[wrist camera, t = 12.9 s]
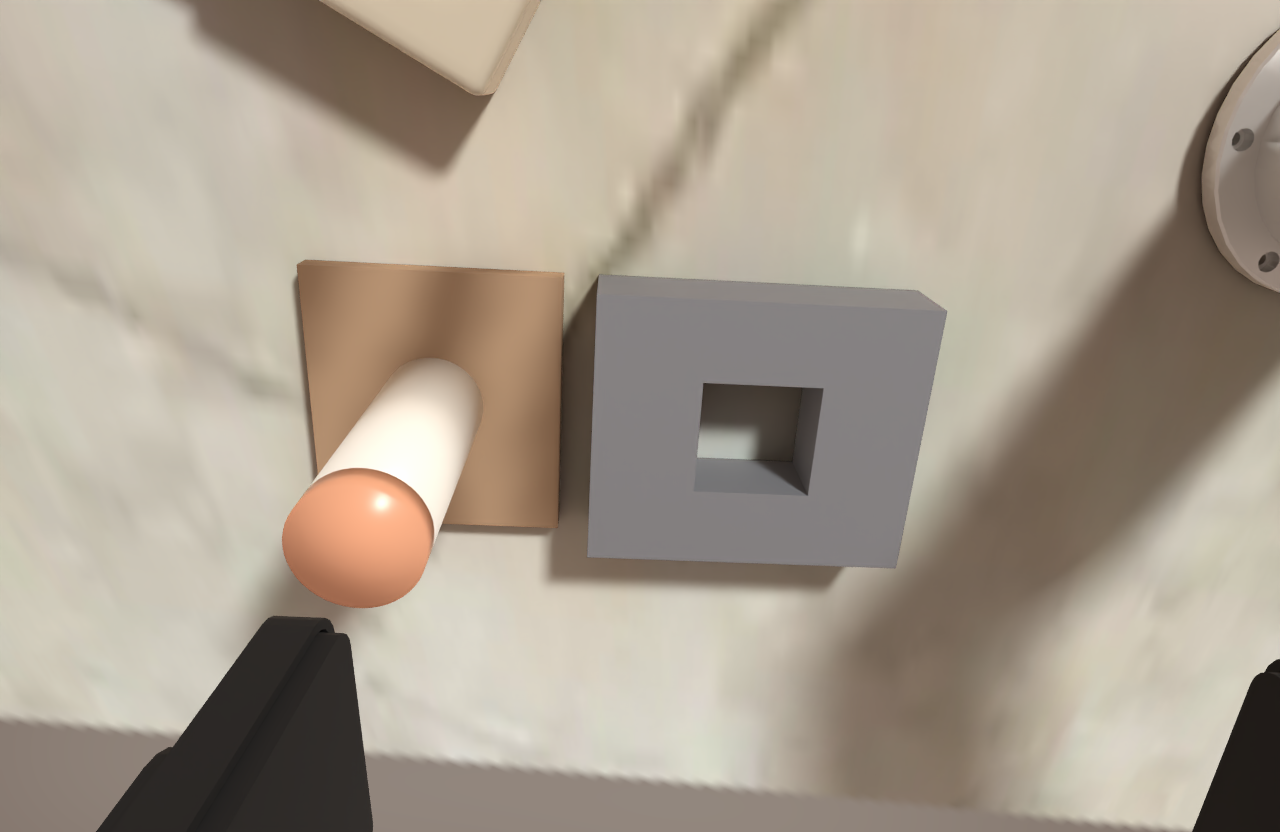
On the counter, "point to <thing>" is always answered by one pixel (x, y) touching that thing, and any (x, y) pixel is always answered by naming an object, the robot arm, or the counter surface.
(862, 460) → the socket block
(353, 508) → the plug
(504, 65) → the electrical outlet
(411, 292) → the board
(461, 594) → the counter surface
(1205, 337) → the counter surface
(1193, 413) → the counter surface
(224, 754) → the robot arm
